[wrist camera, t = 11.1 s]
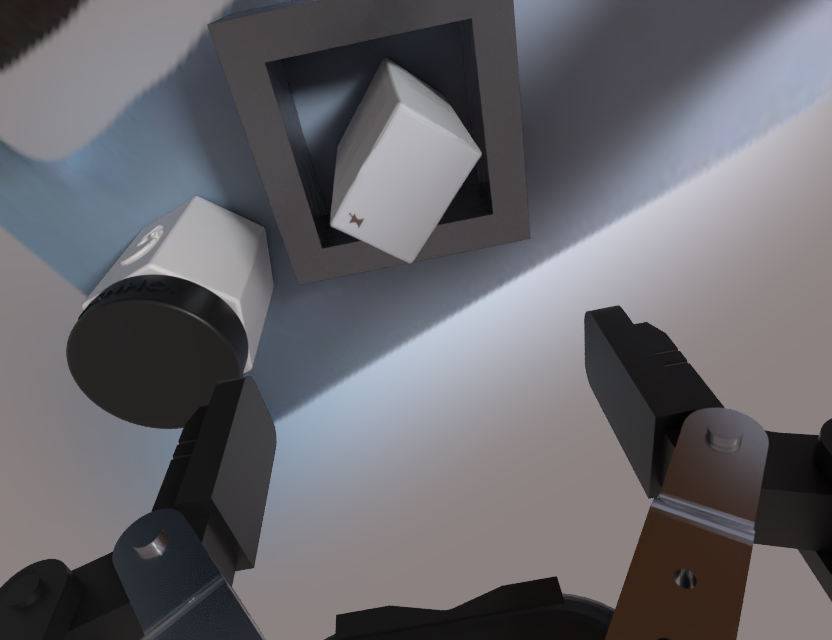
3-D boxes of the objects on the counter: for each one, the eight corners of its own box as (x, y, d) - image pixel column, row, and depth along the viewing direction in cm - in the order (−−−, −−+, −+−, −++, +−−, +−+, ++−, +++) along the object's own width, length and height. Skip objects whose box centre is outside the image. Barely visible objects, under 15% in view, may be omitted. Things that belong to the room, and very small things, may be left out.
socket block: (489, -42, 29) (510, -42, 25) (511, 206, 37) (530, 238, 32) (229, 14, 29) (207, 24, 25) (305, 247, 37) (298, 284, 33)
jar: (223, 173, 34) (164, 264, 24) (301, 272, 38) (280, 385, 28) (113, 242, 36) (17, 354, 26) (200, 330, 40) (146, 454, 30)
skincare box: (396, 180, 35) (410, 270, 25) (336, 146, 34) (324, 227, 24) (448, 92, 32) (486, 154, 22) (385, 51, 31) (395, 98, 21)
